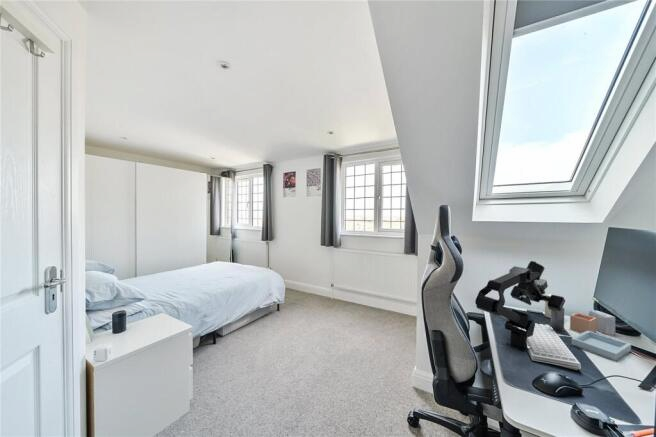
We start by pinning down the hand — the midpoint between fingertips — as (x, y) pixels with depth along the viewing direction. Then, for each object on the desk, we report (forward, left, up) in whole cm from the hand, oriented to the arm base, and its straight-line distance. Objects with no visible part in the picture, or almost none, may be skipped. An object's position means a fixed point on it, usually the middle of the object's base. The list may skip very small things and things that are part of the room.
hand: (542, 307), depth 113 cm
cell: (+15, 0, -14) cm, 20 cm away
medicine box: (+33, -10, -14) cm, 37 cm away
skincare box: (+31, +8, -14) cm, 34 cm away
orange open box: (+25, -6, -14) cm, 29 cm away
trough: (+11, -16, -14) cm, 24 cm away
